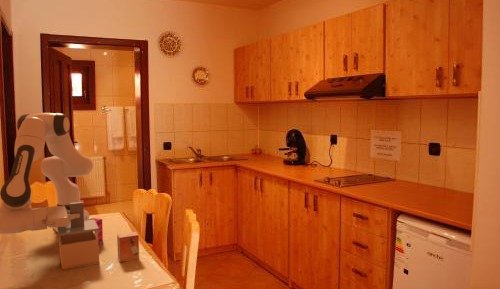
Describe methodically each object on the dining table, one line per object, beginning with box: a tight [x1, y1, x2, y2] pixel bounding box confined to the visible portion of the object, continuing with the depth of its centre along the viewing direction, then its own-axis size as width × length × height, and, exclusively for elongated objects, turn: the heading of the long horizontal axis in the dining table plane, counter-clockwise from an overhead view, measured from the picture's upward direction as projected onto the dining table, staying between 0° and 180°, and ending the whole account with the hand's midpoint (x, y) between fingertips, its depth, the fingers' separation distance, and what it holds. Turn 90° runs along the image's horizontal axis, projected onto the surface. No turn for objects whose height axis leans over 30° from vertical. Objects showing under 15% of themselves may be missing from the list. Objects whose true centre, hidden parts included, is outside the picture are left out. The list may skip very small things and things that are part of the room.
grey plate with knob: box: [57, 200, 99, 237], centre depth 167 cm, size 15×15×11 cm
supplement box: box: [89, 217, 104, 245], centre depth 189 cm, size 6×6×12 cm
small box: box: [116, 231, 140, 263], centre depth 170 cm, size 8×6×10 cm
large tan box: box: [58, 231, 100, 271], centre depth 168 cm, size 14×14×10 cm
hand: (79, 213), depth 167 cm, fingers closed on grey plate with knob, 2 cm apart
